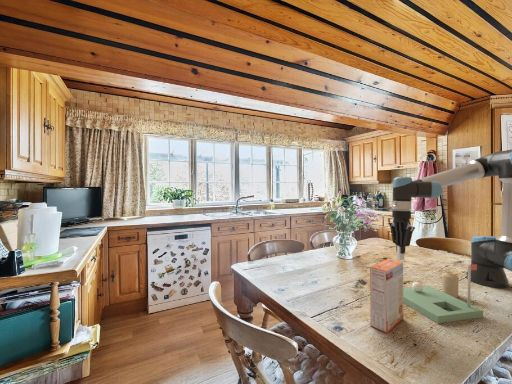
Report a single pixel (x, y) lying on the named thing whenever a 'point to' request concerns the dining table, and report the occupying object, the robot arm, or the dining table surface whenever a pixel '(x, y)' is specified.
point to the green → (441, 303)
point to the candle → (450, 284)
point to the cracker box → (386, 294)
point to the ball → (417, 286)
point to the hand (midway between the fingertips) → (400, 259)
